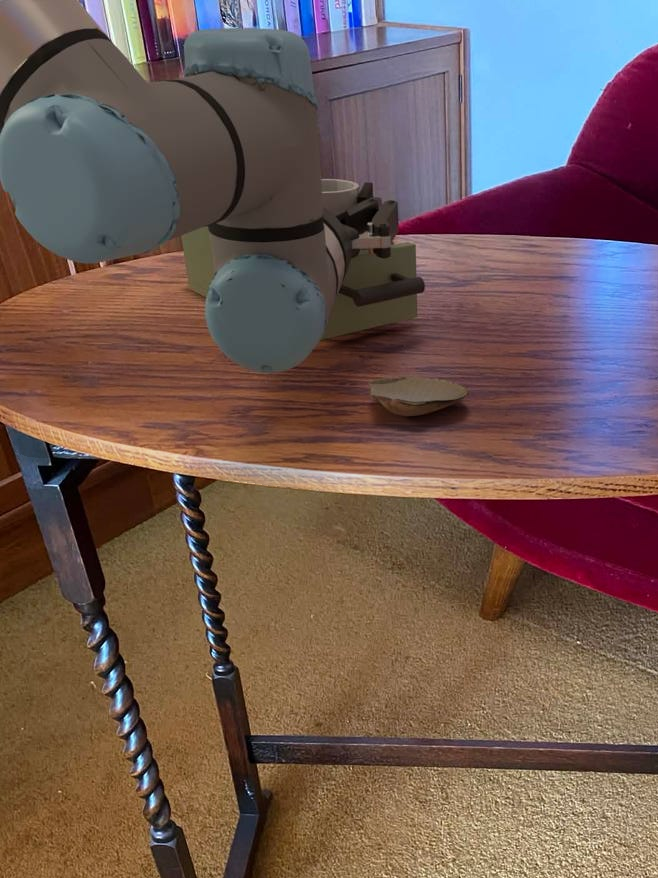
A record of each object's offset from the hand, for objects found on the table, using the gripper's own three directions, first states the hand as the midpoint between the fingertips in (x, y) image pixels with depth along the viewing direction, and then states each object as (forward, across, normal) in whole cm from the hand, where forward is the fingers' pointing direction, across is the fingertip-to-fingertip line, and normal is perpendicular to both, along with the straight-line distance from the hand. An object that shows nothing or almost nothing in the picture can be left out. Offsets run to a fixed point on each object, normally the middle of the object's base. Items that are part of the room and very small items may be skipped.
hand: (333, 197), depth 93 cm
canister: (-5, 0, -6) cm, 8 cm away
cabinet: (+4, -7, -10) cm, 13 cm away
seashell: (-27, +9, -11) cm, 30 cm away
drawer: (-6, +1, -9) cm, 11 cm away
